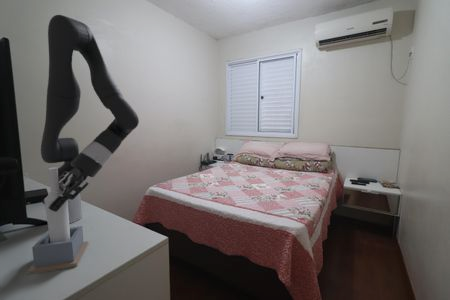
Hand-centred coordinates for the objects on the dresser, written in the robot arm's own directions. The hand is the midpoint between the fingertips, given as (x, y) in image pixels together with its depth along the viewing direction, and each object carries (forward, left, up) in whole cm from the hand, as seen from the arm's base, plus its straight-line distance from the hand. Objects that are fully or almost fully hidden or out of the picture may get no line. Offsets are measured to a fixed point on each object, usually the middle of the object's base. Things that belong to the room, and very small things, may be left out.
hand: (48, 207), depth 59 cm
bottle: (-1, +1, -14) cm, 15 cm away
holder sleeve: (-1, +1, -17) cm, 17 cm away
